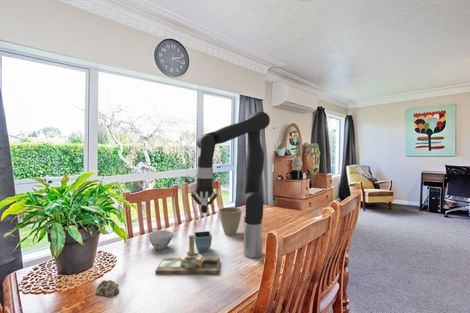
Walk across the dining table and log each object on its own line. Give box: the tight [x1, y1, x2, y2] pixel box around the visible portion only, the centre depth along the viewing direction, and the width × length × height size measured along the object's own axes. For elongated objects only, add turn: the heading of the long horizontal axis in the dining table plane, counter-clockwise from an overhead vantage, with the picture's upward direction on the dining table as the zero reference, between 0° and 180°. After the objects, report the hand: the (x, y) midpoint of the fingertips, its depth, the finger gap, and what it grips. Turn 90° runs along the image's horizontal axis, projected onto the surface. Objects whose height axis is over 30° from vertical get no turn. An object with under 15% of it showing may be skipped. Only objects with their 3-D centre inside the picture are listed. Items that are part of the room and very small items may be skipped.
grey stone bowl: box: [148, 229, 174, 251], centre depth 143 cm, size 15×12×8 cm
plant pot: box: [218, 206, 243, 237], centre depth 166 cm, size 15×15×16 cm
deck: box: [154, 250, 221, 275], centre depth 119 cm, size 28×13×6 cm, turn 91°
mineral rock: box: [95, 279, 120, 297], centre depth 99 cm, size 11×4×8 cm
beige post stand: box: [180, 234, 203, 266], centre depth 119 cm, size 9×5×13 cm, turn 91°
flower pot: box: [193, 230, 213, 253], centre depth 139 cm, size 9×9×9 cm
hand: (204, 213), depth 121 cm, fingers closed
